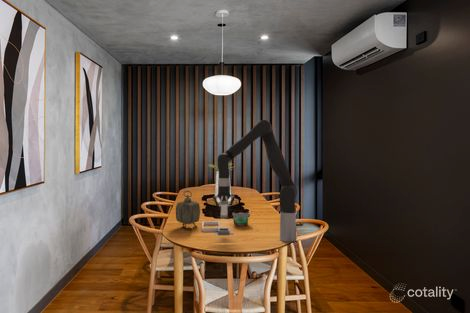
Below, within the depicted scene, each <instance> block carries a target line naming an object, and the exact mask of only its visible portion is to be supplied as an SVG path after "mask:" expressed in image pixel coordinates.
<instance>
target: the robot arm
mask: <svg viewBox="0 0 470 313" xmlns="http://www.w3.org/2000/svg"><path fill="white" fill-rule="evenodd" d="M259 138H261V139H262V141H263V144H264V148H265V152H266V156H267V157H266V158H267V160H268V162H269V165H270V168H271V169H272V171H273V173H274V174H275V175H276V177H277V178H278V180H279V183H280V186H281V189H280V190H279V210H280V216H279V219H280V221H279V240H280V241H281V242H286V243H293V242H297V223H296V221H297V220H296V219H297V207H296V198H297V195H298V189H297V187H296V185H295V183H294V181H293V179H292V176H291V175H290V171H289V168H288V165H287V163H286V161H285V160H286V159H285V157H284V155H283V152H282V150H281V148H280V146H279V143H278V142H277V140H276V138H275V134H274V130H273V126H272V123H270V121H268V120H267V119H260V120H259V121H258V122H257V123H256V124H255V125H254V126H253V127H252V129H250V131H248V132H247V133H246V134H245V135H244V136H242V137H241V138H240V139H239V140H237V141H236V142H234V143H233V144H232V145H231V146H230V147H229V148H228V149H227V150H226V151H225V152H223V153H220V154H219V155H218V156H217V168H218V180H217V195H214V196H213V200H214V204H215V205H216V206H218V212H220V213H221V202H222V201H226V202H228V205H227V213H229V212H230V207H231V206H233V204H234V202H235V198H236V197H235V195H231V178H230V177H231V176H230V172H231V171H230V169H229V168H230V166H229V165H230V164H229V163H231V162H232V161H233V160H234V159H235V158H236V157H237V156H239V155H240V154H241V153H243V152H244V151H245V150H246V149H247V148H249V146H250V145H252V143H254V142H255V141H256V140H258V139H259ZM229 199H231V200H230V202H229ZM218 200H219V203H218Z"/></svg>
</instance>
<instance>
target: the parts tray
mask: <svg viewBox="0 0 470 313" xmlns="http://www.w3.org/2000/svg"><path fill="white" fill-rule="evenodd" d="M204 226H218V227H204ZM218 228H221V224H220V221H215V220H214V221H202V224H201V232H203V233H204V232H206V233H207V232H214V231H218Z"/></svg>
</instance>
